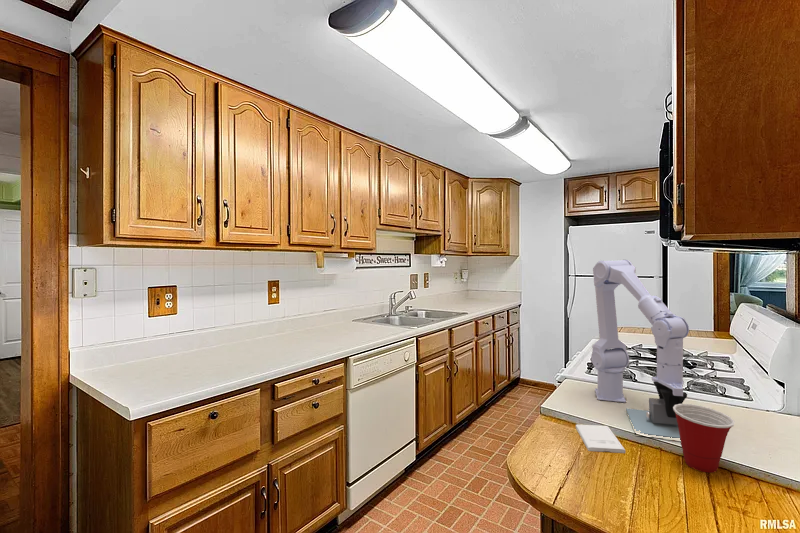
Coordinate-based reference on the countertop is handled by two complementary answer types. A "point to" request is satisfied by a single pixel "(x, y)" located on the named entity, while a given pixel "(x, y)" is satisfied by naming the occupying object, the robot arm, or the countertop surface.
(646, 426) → the tray
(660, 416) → the gray rectangular block
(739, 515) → the countertop surface
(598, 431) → the external hard drive
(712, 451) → the plastic cup
